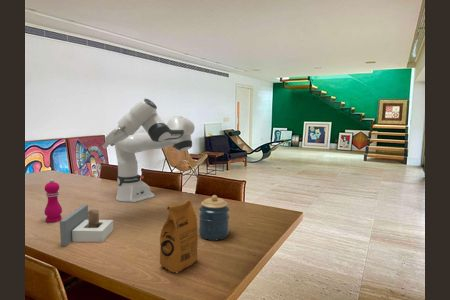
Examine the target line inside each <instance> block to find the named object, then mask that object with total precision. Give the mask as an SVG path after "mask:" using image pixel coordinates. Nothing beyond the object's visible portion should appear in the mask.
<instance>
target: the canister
mask: <svg viewBox="0 0 450 300" xmlns="http://www.w3.org/2000/svg"><path fill="white" fill-rule="evenodd" d="M198 210H199V211H200V213H199V216H198V218H199V220H198V221H199V225H198V234H200V235H199V236H200V238H202V239H204V238H205V239H204V240H206V239H210V240H209V241H217V240H216V239H221V240H223V239H222V238H224V239H226V238H227V237H228V236H227V235H229V232H230V229H229V219H230V215H229V211H230V208H229V206H228V202H227V200H224V199H223V198H221V197H218V196H217V195H216V194H213V195H212V196H211V197H209V198H205V199H204V200H202V201H201V203H200V206H199V209H198ZM226 236H227V237H226ZM225 237H226V238H225Z"/></svg>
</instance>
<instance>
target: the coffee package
mask: <svg viewBox="0 0 450 300" xmlns="http://www.w3.org/2000/svg"><path fill="white" fill-rule="evenodd" d="M166 209H167V210H168V212H169V214H168V215H167V218H166V221H165V223H164V224H163V226H162V228H161V232H160V236H159V247H160V249H159V252H160V253H159V264H160V266H161V267H162V268H163V267H165V268H164V269H166V268H167V269H168V271H169V272H170V271H171V272H170V273H174V272H179V271H180V272H181V271H183V270H184V269H186V267H187V268H189V267H188V266H190V265H191V266H192V265H193V264H194V263H195V262H196V260H197V261H198V243H199V242H198V239H199V238H198V237H199V235H198V234H199V229H198V220H197V215H196V212H195V209H194V206H193V204H192V202H191V199H189V198H188V199H186V200H185V201H184V202H183V204H178V205H168V206H167V208H166ZM191 266H190V267H191ZM167 269H166V270H167ZM180 272H179V273H180Z"/></svg>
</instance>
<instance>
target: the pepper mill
mask: <svg viewBox="0 0 450 300" xmlns="http://www.w3.org/2000/svg"><path fill="white" fill-rule="evenodd" d="M44 191H45V192H46V197H47V204H46V206H45V208H44V216H46V217H45V222H46V223H57V222H60V221H61V220H62V215H61V214H62V212H63V209H62V208H63V207H62V206H61V204H60V202H59V200H58V197H59V191H60V184H59V183H57V182H56V181H55V179H53V178H51V179H49V182H47V183H46V184H45V185H44Z"/></svg>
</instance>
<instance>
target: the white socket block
mask: <svg viewBox="0 0 450 300" xmlns="http://www.w3.org/2000/svg"><path fill="white" fill-rule="evenodd" d="M113 231H114V220H113V219H99V227H98V228H89V220H84V221H83V222H82V223H81V224H80V225H78V226H77V227H76V228H75V229H74V230H72V242H75V243H77V242H78V243H79V242H80V243H81V242H84V243H85V242H86V243H92V242H93V243H103V242H104V241H105V240H106V239H107V238H108V237H109V236H110V234H111V233H112V232H113ZM107 236H108V237H107Z"/></svg>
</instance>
